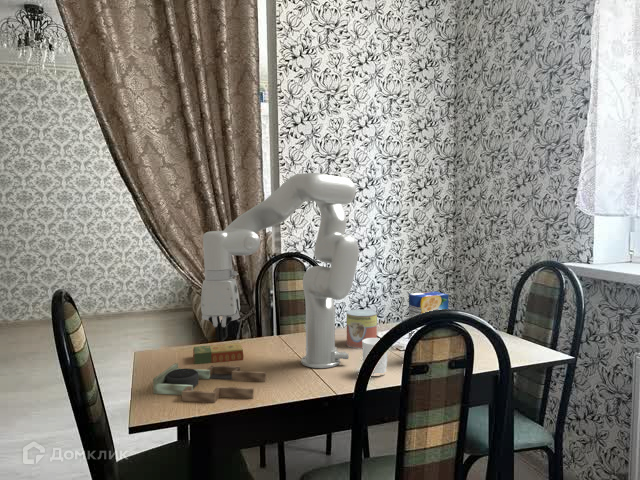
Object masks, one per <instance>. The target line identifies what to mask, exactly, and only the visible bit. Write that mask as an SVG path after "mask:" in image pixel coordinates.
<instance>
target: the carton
mask: <svg viewBox="0 0 640 480" xmlns="http://www.w3.org/2000/svg"><path fill="white" fill-rule="evenodd" d="M192 356H193V357H192V358H193V364H194V365H202V364H204V365H205V364H215V363H224V362H225V363H228V362H239V361H244V349H243V346H242V345H241V343H240V342H236V343H235V342H234V343H225V344H212V345H203V346H202V345H201V346H193V350H192Z"/></svg>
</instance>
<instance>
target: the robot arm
mask: <svg viewBox="0 0 640 480" xmlns="http://www.w3.org/2000/svg"><path fill="white" fill-rule="evenodd" d="M356 194H357V189H356V185H355V184H354V181H352V180H351V179H349V178H347V177H346V176H338V175H333V174H326V173H319V172H307V173H306V172H305V173H297V174H294V175H291V176H290V177H289V178H288V179H287V180H286V181H284V183H282V184H281V185H280V186H279V187H278V188H277V189H275V191H273V192H272V193H271V194H270V195H269V196H268V197H267V198H266V199H265V200H262V201H261V202H260V203H258V204H256V205H255V206H253V207H252V208H250V209H248V210H247V211H245V212H243V213H242V214H241V215H239V216H238V217H236V218H235V219H234V220H233V221H232V222H231V223H230V224H229V225H227V226H226V227H225V228H224V230H215V231H214V230H211V231H207V232H205V233H203V235H202V245H203V261H204V262H203V264H204V265H203V266H204V280H203V281H202V286H201V294H200V308H201V309H200V311H201V319H202V320H205V321H209V322H210V323H211V324H212V325H213V327H214V329H215V337H216V339H217V340H216V341H217V342H220V341H221V342H223V341H225V340H226V339H227V338H228V336H229V335H228V325H229V324H230V323H231V322H232V321H235V320H238V319H240V318H241V315H240V310H241V305H240V303H241V302H240V301H241V300H240V293H239V288H238V284H237V279H235V278H234V277H237V276H238V272H237V270H234V269H233V264H232V263H233V262H232V261H233V260H232V258H233V257H232V256H250V255H253V254H255V253H257V252H258V250H259V248H260V245H261V239H260V236H259V234H258V233H259V232H261V231H262V230H265V229H268V228H271V227H275V226H277V225H279V224H282V223H284V222H285V221H286V220H287V219H288V218H289V217H290V216H291V215H292V214H293V213H295V212H296V210H297V209H299V207H301V206H302V205H303V204H304V203H305V202H314V203H315V204H316V205H317V207H318V209H319V213H320V224H319V228H318V233H317V237H316V240H315V241H316V242H315V245H314V250H313V251H314V254H313V255H314V256H315V258H316V259H317V260H318V261H319V262H321V263H325V264H326V263H327V264H330V267H329V266H322V265H314V266H312V267H309V268H308V269H306V271H305V272H304V274H303V276H302V289H303V294H304V300H305V301H304V303H305V355H304V356H303V357H301V361H300V362H301V364H302V365H303V366H305V367H308V368H311V369H329V368H335V367H336V366H338V365H340V363H341V361H340V359H342V360H349V356H350V355H349V353H348V352H346V351H339V350H338V347H337V346H336V307H335V303H334V302H335V301H334V300H343V299H345V298H346V297H347V296H348V295H349V293H350V291H351V290H352V287H353V284H354V283H353V282H354V279H355V275H356V274H355V273H356V270H357V266H358V261H359V255H360V250H359V244H358V242H357V240H356V239H355V238H353V237H352V236H350V235H347V234H345V233H346V227H347V215H346V211H345V208H344V205H345V206H346V205H347V204H348V205H349V204H350V203H351V202H353V200H354V198H355V197H356Z"/></svg>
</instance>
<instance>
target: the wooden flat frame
mask: <svg viewBox="0 0 640 480" xmlns="http://www.w3.org/2000/svg"><path fill="white" fill-rule="evenodd" d="M177 369H182V367H181V368H179V363H173V364H172V365H171V366H169V367H167V368H166V369H165V370H164V371H162V372H161V373H159V374H158V375H156V377H154V378H153V379H152V384H153V385H152V390H153V392H152V393H153V394H161V395H176V396H178V395H179V396H181V401H182V402H197V403H198V402H199V403H216V402H217V401H218V400H219V399H220V398H234V399H254V398H255V395H254V394H255V392H254V391H255V390H254V387H241V386H237V387H236V386H221V385H220V386H219V385H218V386H216V387H215V389H214V390H212V391H206V390H194V388H193V385H182V384H166V375H167V374H168V373H169V372H171V371H173V370H177ZM193 369H194V370H196V371H197V372H198V380H225V381H226V380H228V381H229V380H230V381H241V382H258V383H259V382H260V383H261V382H263V383H265V382H266V381H267V378H266V377H267V376H266V375H267V374H266V371H249V370H247V371H243V370H242V371H241V367H240V366H233V365H232V366H231V365H211V366H209V367H208V368H207V369H204V368H203V369H199V368H193Z"/></svg>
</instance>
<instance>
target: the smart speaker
mask: <svg viewBox="0 0 640 480" xmlns="http://www.w3.org/2000/svg"><path fill="white" fill-rule="evenodd" d="M194 369H195V368H181V369H177V370H173V371H171V372H169V373H168V374H167V375H166V384H182V385H193V389H194V388H195V387H197V385H198V384H199V380H200V379H198V372H197V371H196V370H194Z"/></svg>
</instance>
